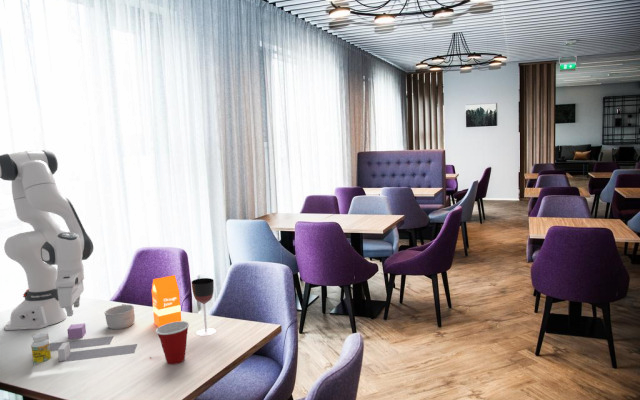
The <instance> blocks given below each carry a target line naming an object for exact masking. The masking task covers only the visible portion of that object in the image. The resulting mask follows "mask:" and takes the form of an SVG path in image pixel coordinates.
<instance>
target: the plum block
mask: <svg viewBox="0 0 640 400" xmlns="http://www.w3.org/2000/svg"><path fill="white" fill-rule="evenodd" d="M86 330H87V328H86V323H85V322H84V323H75V324H70V325H69V327H68V328H67V330H66V331H67V339H68V340H72V339H81V338H83V337H84V336H85V335H86V333H87V331H86Z"/></svg>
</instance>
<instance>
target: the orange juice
mask: <svg viewBox="0 0 640 400" xmlns="http://www.w3.org/2000/svg"><path fill="white" fill-rule="evenodd" d="M151 297H152V298H151V299H152V300H151V301H152V311H153V322H154V324H155V325H156V326H157V328H159V327H160V326H162V325H165V324H168V323H171V322H177V321H182V312H181V311H182V310H181V309H182V307H181V299H180V297H181V296H180V289H179V285H178V281H177V277H176V275H175V274H174V275H169V276H168V275H167V276H163V277H159V278H153V279H152V287H151Z"/></svg>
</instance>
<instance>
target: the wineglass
mask: <svg viewBox="0 0 640 400" xmlns="http://www.w3.org/2000/svg"><path fill="white" fill-rule="evenodd" d="M214 283H215V282H214V279H213V278H209V277H206V278H205V277H201V278H197V279H193V280H191V290H192V294H193V297H194V299H195V300H196V301H197V302H198V303H200V304H202V307H203V319H204V322H203V323H204V328H202V329H199V330H197V331H196V332H195V333H196V335H197V336H201V337H202V336H204V337H205V336H210V335H211V336H212V335H214V334H215V333H217V330H216V329H215V328H212V327H211V328H210V327H208V325H207V323H208V321H207V312H206V308H207V307H206V304H207V303H209V302H210V301H211V300H212V298H213V295H214V291H215V289H214V287H215V285H214Z"/></svg>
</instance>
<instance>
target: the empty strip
mask: <svg viewBox="0 0 640 400" xmlns="http://www.w3.org/2000/svg"><path fill="white" fill-rule="evenodd" d="M65 342H66V341H65ZM137 346H138V343H134V344H127V345H125V344H124V345H118V346H110V347H102V348H92V349H85V350H77V351H71V349H70V344H69V342H66V343H63V344H62V345H61V346H60V348H59V349H58V351H57V354H58V363H66V362H74V361H80V360H81V361H83V360H90V359H97V358H98V359H99V358H105V357H106V358H107V357H113V356H114V357H115V356H119V355H120V356H122V355H129V354H135V352H136V349H137Z"/></svg>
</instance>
